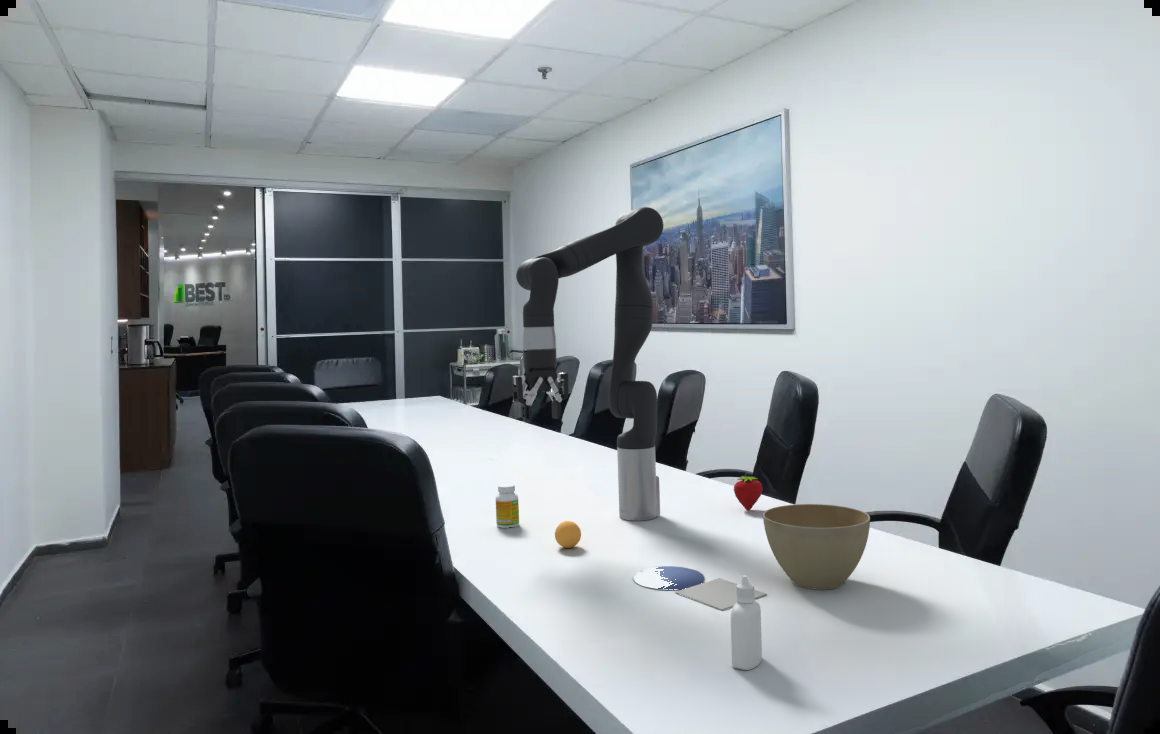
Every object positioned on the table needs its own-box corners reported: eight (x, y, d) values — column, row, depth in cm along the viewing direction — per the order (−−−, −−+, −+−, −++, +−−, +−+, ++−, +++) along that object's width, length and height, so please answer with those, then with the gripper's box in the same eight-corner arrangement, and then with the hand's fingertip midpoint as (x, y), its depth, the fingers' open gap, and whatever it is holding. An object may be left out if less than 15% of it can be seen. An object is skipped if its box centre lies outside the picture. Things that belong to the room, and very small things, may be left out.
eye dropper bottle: (720, 661, 105) (718, 575, 105) (753, 652, 108) (751, 568, 107) (740, 673, 101) (738, 584, 101) (773, 664, 104) (772, 576, 103)
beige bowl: (869, 570, 141) (868, 505, 141) (872, 604, 124) (871, 530, 124) (769, 563, 147) (767, 501, 147) (759, 595, 130) (757, 524, 130)
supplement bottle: (515, 528, 180) (514, 487, 179) (493, 528, 181) (492, 487, 180) (521, 523, 185) (520, 483, 185) (500, 522, 186) (499, 482, 186)
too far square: (719, 579, 139) (719, 578, 139) (767, 594, 130) (767, 593, 130) (674, 593, 133) (674, 591, 133) (721, 610, 124) (721, 609, 124)
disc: (670, 563, 150) (670, 562, 150) (719, 579, 139) (719, 578, 139) (618, 577, 142) (618, 576, 142) (666, 595, 132) (666, 594, 132)
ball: (571, 542, 167) (570, 516, 166) (586, 547, 162) (585, 521, 162) (550, 547, 163) (549, 521, 163) (565, 552, 159) (564, 526, 159)
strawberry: (768, 510, 189) (767, 470, 188) (742, 514, 186) (741, 473, 186) (754, 505, 194) (753, 466, 194) (729, 509, 192) (728, 469, 191)
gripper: (556, 346, 180) (558, 416, 181) (503, 348, 172) (506, 421, 173) (575, 346, 174) (577, 418, 175) (521, 348, 166) (523, 424, 167)
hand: (541, 419), depth 174 cm, fingers open, 7 cm apart
